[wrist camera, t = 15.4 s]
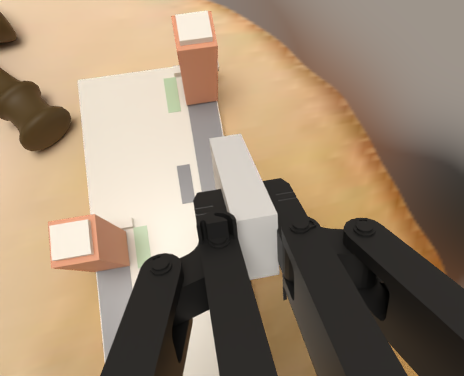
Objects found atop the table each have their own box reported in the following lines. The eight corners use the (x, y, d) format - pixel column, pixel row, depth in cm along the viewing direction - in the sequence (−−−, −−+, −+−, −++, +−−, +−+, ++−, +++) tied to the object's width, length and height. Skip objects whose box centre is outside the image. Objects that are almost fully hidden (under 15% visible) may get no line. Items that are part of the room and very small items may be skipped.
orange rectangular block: (186, 105, 38) (176, 46, 28) (181, 77, 38) (170, 10, 29) (217, 100, 38) (217, 40, 28) (212, 72, 38) (210, 5, 29)
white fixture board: (108, 411, 33) (98, 422, 31) (77, 90, 40) (67, 76, 37) (274, 377, 34) (279, 385, 32) (217, 71, 41) (217, 56, 38)
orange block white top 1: (94, 272, 34) (47, 267, 24) (91, 237, 34) (44, 220, 25) (129, 265, 34) (96, 259, 25) (125, 231, 35) (91, 212, 25)
